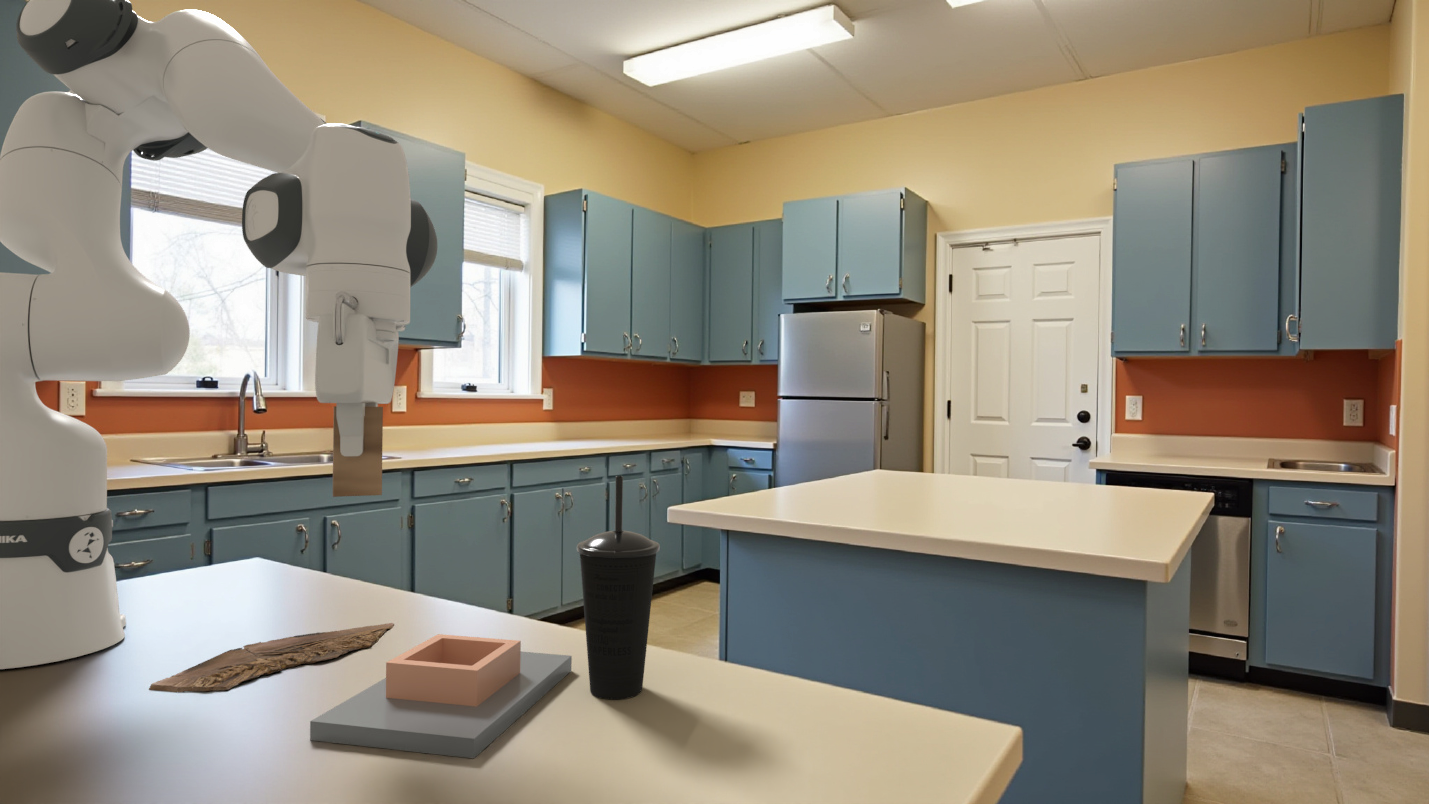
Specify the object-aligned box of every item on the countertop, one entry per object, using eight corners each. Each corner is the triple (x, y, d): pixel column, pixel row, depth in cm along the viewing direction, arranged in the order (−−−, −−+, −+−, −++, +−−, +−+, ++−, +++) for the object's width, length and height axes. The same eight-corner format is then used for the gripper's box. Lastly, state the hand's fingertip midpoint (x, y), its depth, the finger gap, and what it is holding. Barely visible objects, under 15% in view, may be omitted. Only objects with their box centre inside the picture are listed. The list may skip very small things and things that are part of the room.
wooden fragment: (179, 706, 71) (180, 694, 71) (125, 681, 78) (125, 670, 78) (429, 637, 93) (429, 627, 93) (371, 621, 99) (371, 612, 99)
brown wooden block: (332, 492, 76) (333, 406, 76) (379, 490, 78) (380, 406, 78) (333, 496, 72) (334, 406, 72) (381, 495, 74) (382, 406, 74)
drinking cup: (596, 712, 71) (599, 482, 71) (561, 685, 77) (564, 474, 77) (672, 695, 75) (675, 478, 75) (633, 671, 82) (636, 470, 81)
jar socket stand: (310, 740, 65) (310, 683, 64) (442, 659, 84) (443, 615, 84) (473, 758, 62) (474, 699, 62) (571, 670, 81) (572, 625, 81)
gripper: (380, 289, 66) (379, 460, 66) (407, 316, 86) (406, 448, 86) (294, 285, 64) (293, 461, 64) (341, 314, 84) (340, 448, 84)
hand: (358, 454), depth 75 cm, fingers closed on brown wooden block, 4 cm apart
